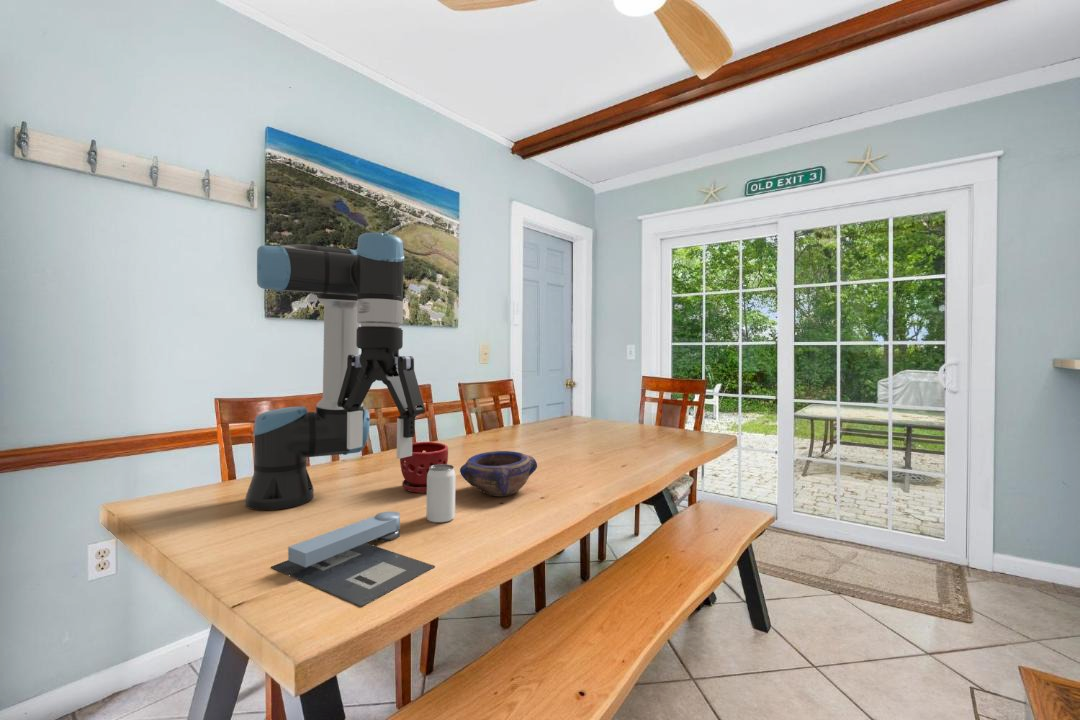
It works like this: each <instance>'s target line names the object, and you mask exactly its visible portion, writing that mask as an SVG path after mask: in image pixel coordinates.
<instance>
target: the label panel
mask: <svg viewBox="0 0 1080 720" xmlns="http://www.w3.org/2000/svg"><path fill="white" fill-rule="evenodd" d="M270 568H271V569H273V570H276V571H278V572H281V573H282V574H285V575H287V576H289V575H290V577H291V576H292V577H291V578H294V579H296V580H299V581H301V582H303V583H306V584H308V585H310V586H312V587H314V588H317V589H319V590H321V591H324V592H325V593H328V594H330V595H332V596H334V597H337V598H339V599H342V600H344V601H347V602H349V603H352V604H353V605H355V606H358V607H360V608H362V607H364V606H366V605H368V604H370V603H372V602H373V601H375V600H378V599H379V598H381V597H382V596H384V595H387V594H389V593H390V592H392V591H394V590H396V589H398V588H399V587H401V586H403V585H405V584H407V583H408V582H410V581H412V580H414V579H416V578H417V577H419V576H421V575H422V574H424V573H426V572H428V571H430V570H432V569H434V568H436V566H435V565H433V564H430V563H427V562H425V561H421V560H418V559H415V558H412V557H411V556H410V557H409V556H407V555H403V554H400V553H397V552H394V551H391V550H389V549H386V548H383V547H379V546H376V545H373V544H371V543H368V542H366V543H364V544H361V545H359V546H357V547H354V548H352V549H349V550H347V551H344V552H342V553H340V554H337V555H335V556H332V557H330V558H327V559H325V560H322V561H320V562H318V563H315V564H313V565H310V566H308V567H303V566H301V565H298V564H296V563H294V562H291V561H289V560H288V559H287V560H285V561H282V562H279V563H277V564H275V565H272V566H270Z"/></svg>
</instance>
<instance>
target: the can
mask: <svg viewBox="0 0 1080 720" xmlns="http://www.w3.org/2000/svg"><path fill="white" fill-rule="evenodd" d="M454 468H455V467H454V465H452V464H448V463H447V464H439V465H433V466H430V467H429V471H428V474H427V492H426V519H427V520H428V522H430V523H434V524H443V523H450V522H451V521H453V520H454V518H455V516H456V471H455V469H454Z"/></svg>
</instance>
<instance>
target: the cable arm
mask: <svg viewBox="0 0 1080 720" xmlns="http://www.w3.org/2000/svg"><path fill="white" fill-rule="evenodd" d="M399 529H400V530H401V513H400V512H398V511H382V512H379V513H376V514H375V515H373V516H370V517H368V518H365V519H362V520H359V521H357V522H354V523H351V524H348V525H346V526H342V527H340V528H336V529H334V530H332V531H328V532H325V533H323V534H320V535H317V536H315V537H311V538H310V539H305V540H304V541H303V540H302V541H301V542H298V543H295V544H292V545H289V546H288V547H287V548H288V549H287V551H288V552H287V554H288V555H287V560H289V561H291V562H294V563H296V564H298V565H301V566H303V567H308V566H310V565H313V564H315V563H318V562H320V561H322V560H325V559H327V558H330V557H332V556H335V555H337V554H340V553H342V552H344V551H347V550H349V549H352V548H354V547H357V546H359V545H361V544H364V543H368V542H371V541H373V540H376V538H378V537H381V536H383V535H386V534H388V533H392V532H395V531H398V530H399Z"/></svg>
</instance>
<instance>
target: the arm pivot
mask: <svg viewBox="0 0 1080 720" xmlns="http://www.w3.org/2000/svg"><path fill="white" fill-rule="evenodd" d="M400 536H401V528H400V529H399V530H398V531H395V532H392V533H388V534H386V535H383V536H381V537H378V538H376V539H375V540H376V541H379V542H391V541H394V540H397V539H398V538H400Z"/></svg>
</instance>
